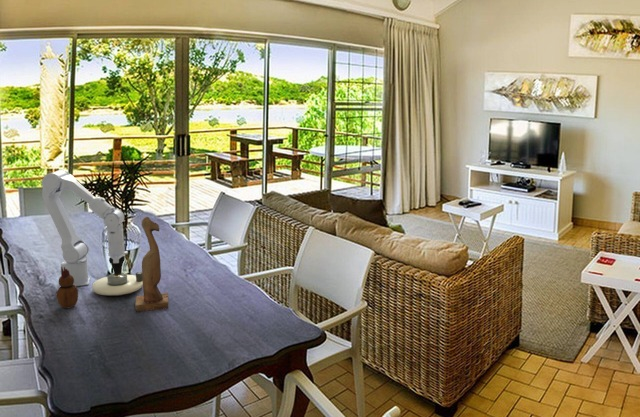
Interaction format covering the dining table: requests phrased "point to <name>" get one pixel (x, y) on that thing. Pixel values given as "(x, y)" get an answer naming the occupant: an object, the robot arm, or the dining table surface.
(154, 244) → the bird sculpture
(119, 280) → the cover
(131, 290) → the turntable
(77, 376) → the dining table surface
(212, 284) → the dining table surface
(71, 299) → the wooden figurine
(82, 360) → the dining table surface
